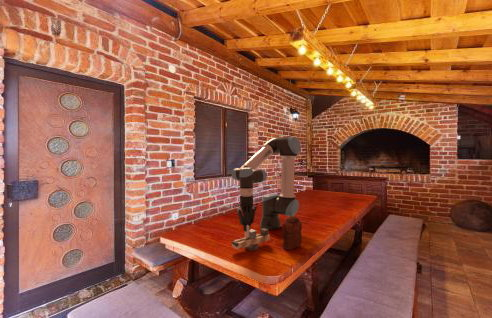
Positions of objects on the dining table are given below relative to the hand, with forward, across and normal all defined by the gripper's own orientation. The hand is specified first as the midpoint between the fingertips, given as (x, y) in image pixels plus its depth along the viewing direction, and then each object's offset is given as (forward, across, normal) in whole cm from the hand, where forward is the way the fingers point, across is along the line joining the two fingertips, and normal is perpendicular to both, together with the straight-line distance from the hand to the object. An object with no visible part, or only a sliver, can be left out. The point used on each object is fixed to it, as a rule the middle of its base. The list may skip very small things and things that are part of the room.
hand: (246, 236), depth 143 cm
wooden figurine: (+8, +23, -12) cm, 27 cm away
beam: (+8, +3, 0) cm, 8 cm away
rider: (+2, +3, 0) cm, 4 cm away
